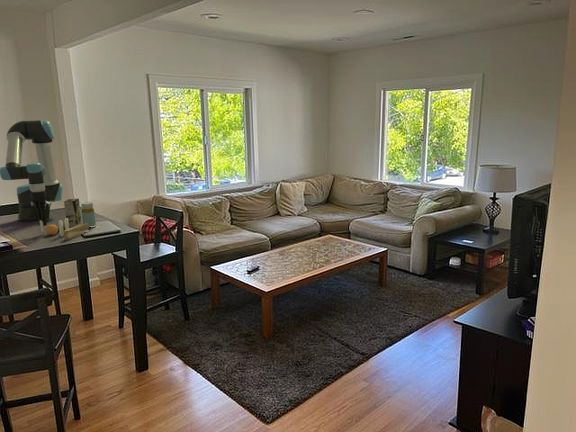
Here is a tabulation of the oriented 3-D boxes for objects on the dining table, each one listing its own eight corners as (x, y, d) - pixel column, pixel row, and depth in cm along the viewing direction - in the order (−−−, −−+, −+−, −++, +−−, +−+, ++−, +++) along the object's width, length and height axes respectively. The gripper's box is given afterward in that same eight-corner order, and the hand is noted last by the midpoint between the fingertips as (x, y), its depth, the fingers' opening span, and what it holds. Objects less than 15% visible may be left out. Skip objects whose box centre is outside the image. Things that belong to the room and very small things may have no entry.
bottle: (91, 228, 261) (88, 204, 258) (81, 228, 263) (78, 204, 259) (98, 225, 268) (95, 202, 265) (88, 225, 269) (85, 201, 266)
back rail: (64, 239, 239) (63, 230, 238) (84, 231, 256) (83, 222, 255) (69, 239, 239) (68, 231, 237) (89, 231, 256) (88, 223, 255)
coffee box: (78, 226, 267) (74, 200, 264) (66, 227, 266) (63, 201, 263) (82, 223, 276) (79, 198, 273) (71, 223, 275) (68, 198, 272)
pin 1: (59, 236, 246) (57, 221, 243) (61, 235, 247) (59, 220, 245) (62, 236, 245) (60, 221, 243) (65, 235, 247) (62, 220, 245)
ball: (52, 224, 246) (52, 235, 246) (60, 224, 252) (60, 234, 252) (43, 224, 247) (43, 235, 247) (51, 224, 253) (51, 234, 253)
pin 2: (65, 234, 250) (63, 219, 248) (67, 233, 252) (65, 218, 250) (68, 234, 250) (66, 219, 248) (70, 233, 252) (68, 218, 250)
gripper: (22, 191, 243) (29, 232, 248) (43, 192, 240) (49, 233, 246) (32, 189, 250) (38, 229, 255) (52, 189, 248) (58, 229, 253)
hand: (43, 231), depth 250 cm, fingers closed
